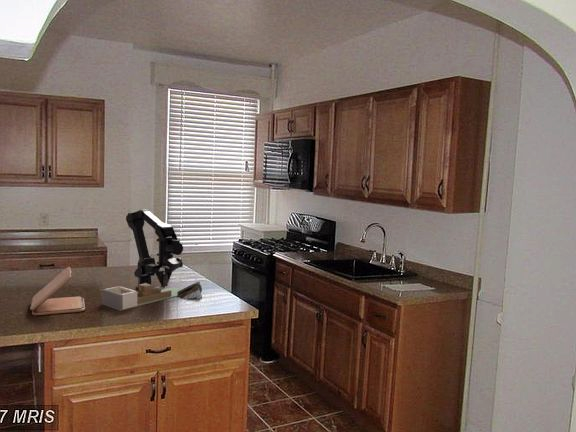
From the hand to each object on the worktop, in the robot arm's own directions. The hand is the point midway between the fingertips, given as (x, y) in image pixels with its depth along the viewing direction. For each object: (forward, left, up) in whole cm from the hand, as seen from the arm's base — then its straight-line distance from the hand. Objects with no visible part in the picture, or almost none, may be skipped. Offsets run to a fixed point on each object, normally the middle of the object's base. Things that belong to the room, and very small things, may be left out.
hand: (164, 283), depth 239 cm
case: (-16, -44, -6) cm, 47 cm away
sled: (0, -6, -5) cm, 8 cm away
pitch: (0, -9, -6) cm, 11 cm away
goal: (0, -24, -6) cm, 25 cm away
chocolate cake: (+12, +6, -6) cm, 15 cm away
